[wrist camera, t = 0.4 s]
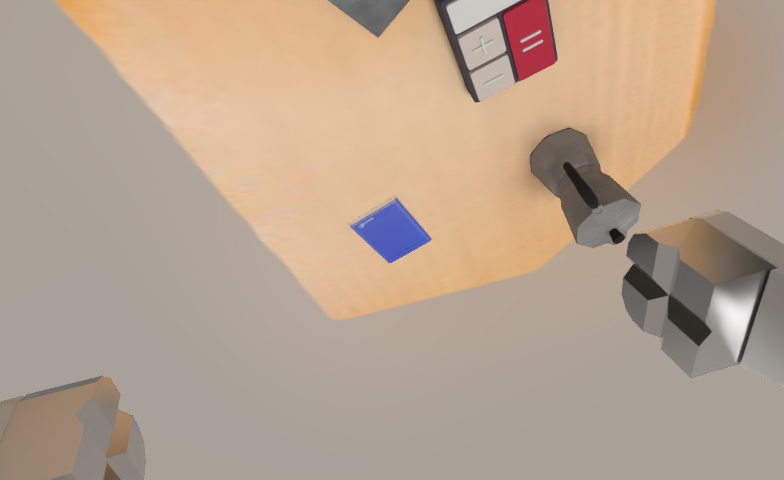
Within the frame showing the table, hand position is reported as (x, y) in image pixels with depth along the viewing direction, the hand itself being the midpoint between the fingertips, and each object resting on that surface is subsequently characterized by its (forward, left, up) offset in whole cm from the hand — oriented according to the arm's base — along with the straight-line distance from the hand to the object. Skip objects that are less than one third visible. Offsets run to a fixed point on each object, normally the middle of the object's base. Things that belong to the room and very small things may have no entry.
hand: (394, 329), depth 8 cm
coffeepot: (+7, +59, -50) cm, 78 cm away
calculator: (0, +35, -50) cm, 61 cm away
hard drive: (+32, +48, -51) cm, 77 cm away
